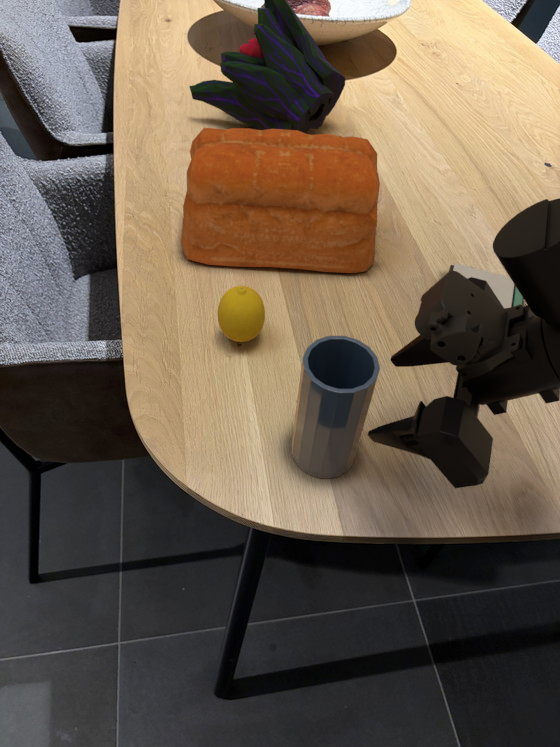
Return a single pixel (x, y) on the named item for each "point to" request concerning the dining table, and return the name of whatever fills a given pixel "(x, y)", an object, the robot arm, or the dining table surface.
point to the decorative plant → (275, 76)
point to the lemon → (241, 313)
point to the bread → (281, 200)
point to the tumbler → (332, 404)
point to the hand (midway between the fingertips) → (382, 397)
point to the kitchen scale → (494, 284)
